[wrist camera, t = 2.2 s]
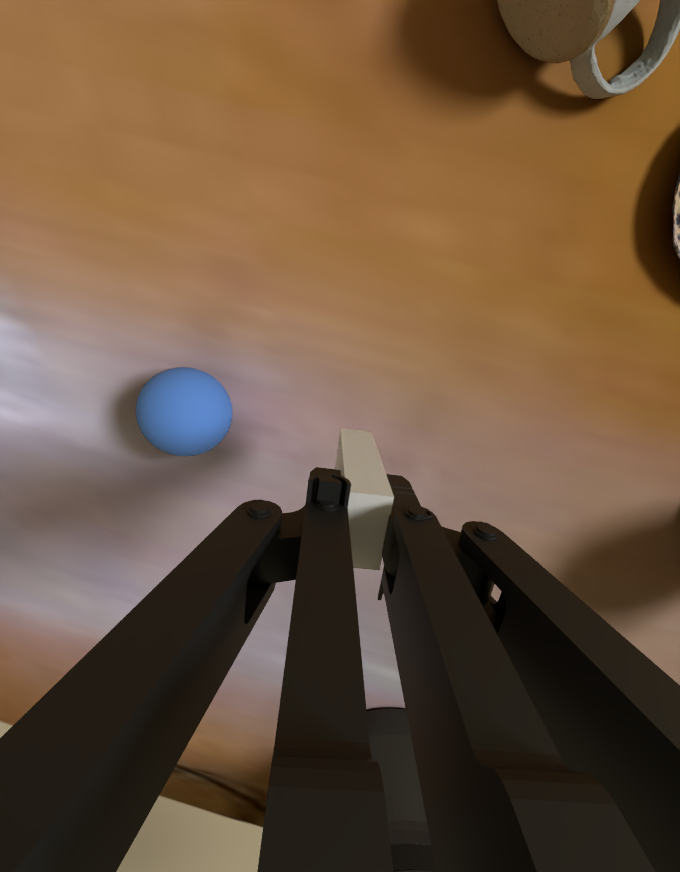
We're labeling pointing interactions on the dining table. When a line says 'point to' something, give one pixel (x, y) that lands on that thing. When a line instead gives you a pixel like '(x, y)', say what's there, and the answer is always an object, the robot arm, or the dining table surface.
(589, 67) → the ceramic mug
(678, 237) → the plate of salad
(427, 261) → the dining table surface
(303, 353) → the dining table surface
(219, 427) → the ball
